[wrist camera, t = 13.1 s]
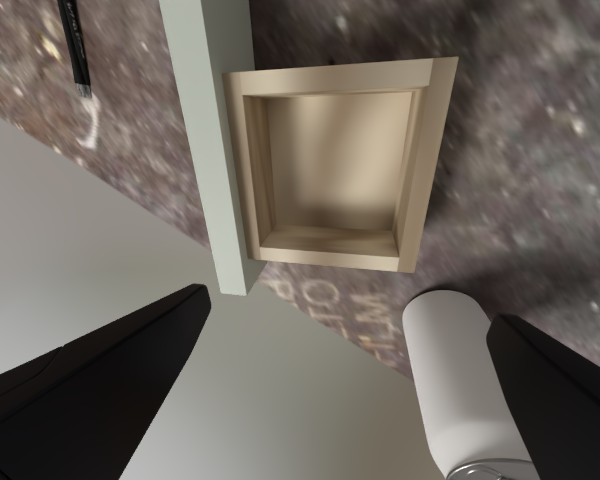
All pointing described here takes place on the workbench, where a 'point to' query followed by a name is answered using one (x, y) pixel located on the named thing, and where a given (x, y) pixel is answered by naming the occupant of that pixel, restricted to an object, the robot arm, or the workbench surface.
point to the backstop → (213, 120)
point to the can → (462, 391)
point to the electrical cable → (74, 45)
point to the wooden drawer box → (338, 159)
